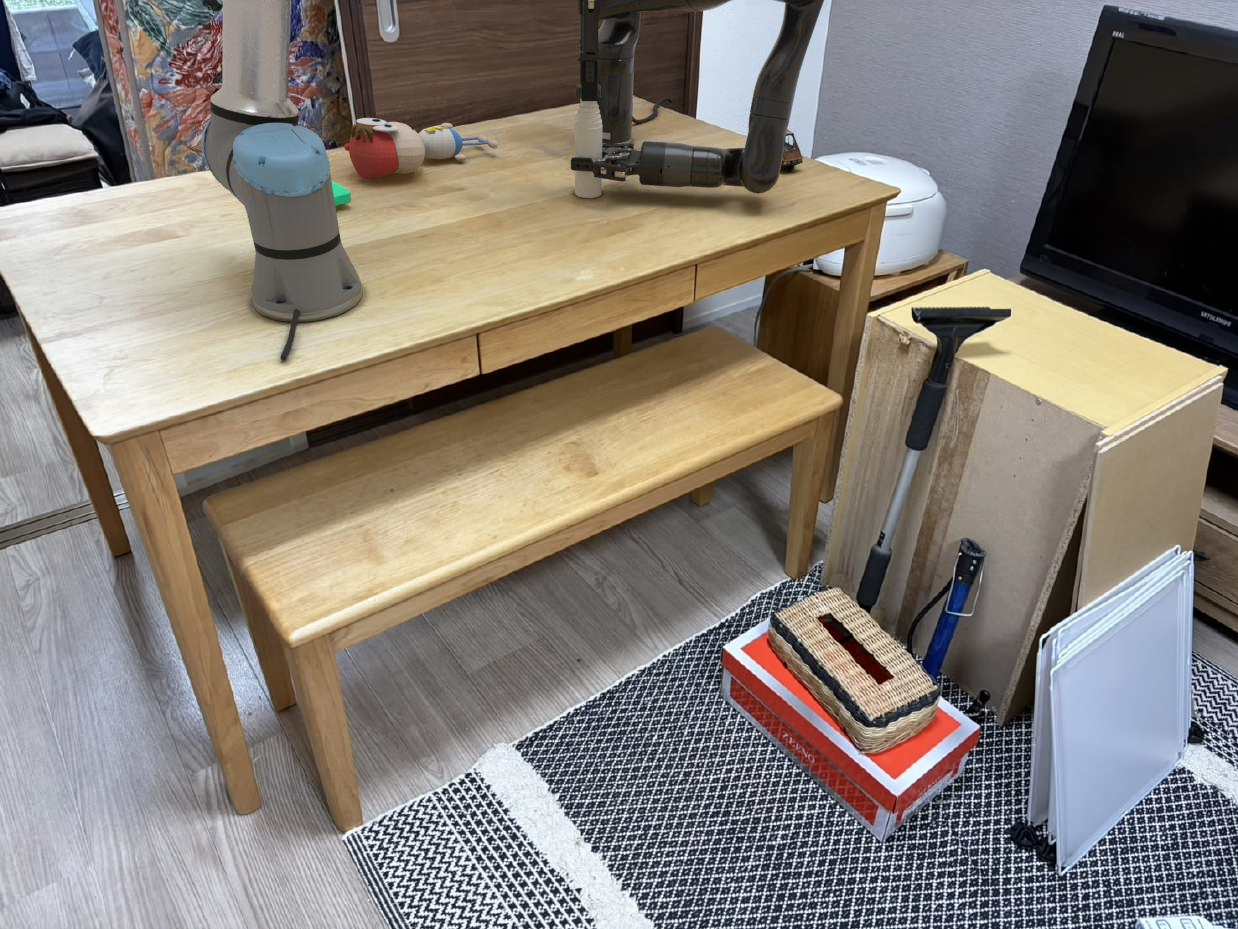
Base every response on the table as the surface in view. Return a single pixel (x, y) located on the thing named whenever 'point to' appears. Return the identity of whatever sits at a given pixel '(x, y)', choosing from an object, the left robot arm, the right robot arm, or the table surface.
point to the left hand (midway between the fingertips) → (588, 96)
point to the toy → (402, 146)
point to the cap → (578, 91)
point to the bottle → (588, 147)
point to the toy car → (791, 153)
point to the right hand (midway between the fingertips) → (574, 158)
